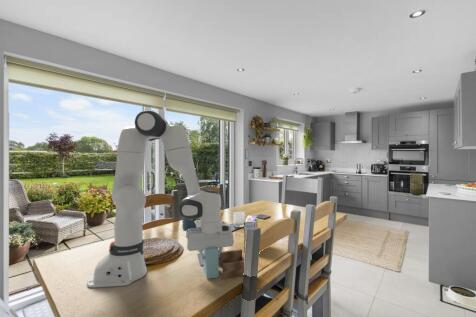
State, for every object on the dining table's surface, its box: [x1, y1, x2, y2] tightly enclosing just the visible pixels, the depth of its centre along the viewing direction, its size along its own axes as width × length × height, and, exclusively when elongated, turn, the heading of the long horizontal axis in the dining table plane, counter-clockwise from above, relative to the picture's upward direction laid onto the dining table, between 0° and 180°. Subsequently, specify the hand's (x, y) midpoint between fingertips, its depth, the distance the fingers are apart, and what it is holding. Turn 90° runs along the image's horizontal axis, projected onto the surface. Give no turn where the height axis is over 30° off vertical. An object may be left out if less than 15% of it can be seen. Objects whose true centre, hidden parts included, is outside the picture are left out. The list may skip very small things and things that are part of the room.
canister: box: [181, 217, 200, 231], centre depth 167 cm, size 13×13×18 cm
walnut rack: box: [218, 249, 245, 280], centre depth 108 cm, size 12×13×6 cm
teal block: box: [203, 247, 220, 280], centre depth 105 cm, size 5×9×12 cm, turn 16°
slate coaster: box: [196, 252, 204, 267], centre depth 119 cm, size 9×13×1 cm
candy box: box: [243, 215, 259, 253], centre depth 132 cm, size 14×6×16 cm, turn 168°
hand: (210, 258), depth 105 cm, fingers closed on teal block, 5 cm apart
